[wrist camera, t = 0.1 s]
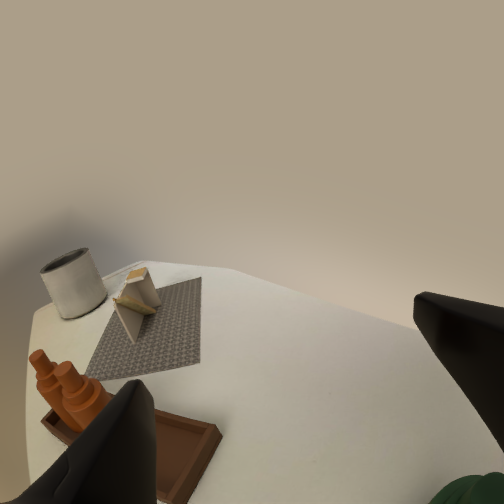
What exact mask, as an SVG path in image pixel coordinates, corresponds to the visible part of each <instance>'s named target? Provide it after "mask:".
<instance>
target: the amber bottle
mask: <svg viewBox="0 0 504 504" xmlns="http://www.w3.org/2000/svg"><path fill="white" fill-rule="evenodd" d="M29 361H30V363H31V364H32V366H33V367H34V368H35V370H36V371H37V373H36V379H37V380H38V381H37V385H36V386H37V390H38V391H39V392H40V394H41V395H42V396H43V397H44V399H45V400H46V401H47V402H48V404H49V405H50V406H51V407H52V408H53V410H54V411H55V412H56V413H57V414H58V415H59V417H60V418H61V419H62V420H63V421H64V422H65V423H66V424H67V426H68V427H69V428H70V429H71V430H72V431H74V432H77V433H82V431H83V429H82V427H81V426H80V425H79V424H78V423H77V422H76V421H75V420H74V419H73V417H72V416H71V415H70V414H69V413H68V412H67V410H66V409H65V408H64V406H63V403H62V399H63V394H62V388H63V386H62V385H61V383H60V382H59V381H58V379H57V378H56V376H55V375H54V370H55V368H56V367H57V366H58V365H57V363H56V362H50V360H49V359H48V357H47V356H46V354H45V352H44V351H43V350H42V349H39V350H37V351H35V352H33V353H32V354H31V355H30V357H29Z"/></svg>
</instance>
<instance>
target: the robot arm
mask: <svg viewBox="0 0 504 504" xmlns="http://www.w3.org/2000/svg"><path fill="white" fill-rule="evenodd" d="M413 319H414V321H415V324H416V325H417V327H418V328H419V330H420V331H421V333H422V334H423V336H424V338H425V339H426V341H427V342H428V344H429V346H430V347H431V349H432V350H433V352H434V353H435V355H436V356H437V358H438V359H439V360H440V362H441V363H442V364H443V366H444V367H445V368H446V369H447V371H448V372H449V373H450V375H451V376H452V377H453V379H454V380H455V381H456V383H457V384H458V386H459V387H460V388H461V390H462V391H463V392H464V394H465V395H466V397H467V398H468V399H469V401H470V402H471V404H472V405H473V406H474V408H475V409H476V411H477V412H478V414H479V415H480V417H481V418H482V420H483V421H484V422H485V424H486V425H487V427H488V429H489V430H490V432H491V433H492V435H493V436H494V438H495V439H496V440H497V443H498V444H499V446H500V448H501V449H502V451H503V452H504V308H503V307H498V306H494V305H489V304H484V303H479V302H474V301H469V300H464V299H459V298H455V297H450V296H445V295H440V294H436V293H431V292H422V293H420V294H418V295H416V296H415V298H414V310H413ZM156 471H157V437H156V425H155V411H154V400H153V397H152V395H151V394H150V392H149V391H148V389H147V388H146V386H145V385H144V383H143V382H142V381H141V380H140V379H136V380H130V381H128V382H127V383H126V384H125V385H124V386H123V387H122V388H121V389H120V390H119V391H118V393H117V394H116V395H115V396H114V397H113V398H112V399H111V400H110V401H109V403H108V404H107V405H106V406H105V407H104V408H103V409H102V410H101V411H100V413H99V414H98V415H97V416H96V417H95V418H94V419H93V420H92V421H91V423H90V424H89V425H88V426H87V427H86V428H85V429H84V430H83V431H82V433H81V434H80V435H79V436H78V437H77V438H76V439H75V440H74V441H73V443H72V444H71V445H70V446H69V447H68V448H67V449H66V451H64V453H63V454H62V455H61V456H60V457H59V458H58V459H57V460H56V461H55V462H54V464H53V465H52V466H51V467H50V468H49V469H48V470H47V471H46V472H45V473H44V474H43V475H42V476H41V477H39V478H38V479H37V480H36V481H35V482H34V483H33V484H32V485H31V486H30V487H29V488H28V489H26V490H25V491H24V492H23V493H22V494H21V495H20V496H19V497H18V498H16V499H14V500H12V501H9V502H5V503H0V504H157V484H156Z"/></svg>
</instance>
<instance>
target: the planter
mask: <svg viewBox="0 0 504 504" xmlns="http://www.w3.org/2000/svg"><path fill="white" fill-rule="evenodd" d="M40 274H41V276H42V279H43V281H44V283H45V285H46V288H47V290H48V292H49V294H50V296H51V298H52V301H53V303H54V305H55V307H56V309H57V311H58V313H59V315H60V316H61V317H62V318H67V319H72V318H77V317H80V316H82V315H85V314H87V313H89V312H90V311H92V310H93V309H95V308H96V307H98V306H99V305H100V304H101V303H102V302H103V300H104V299H105V297H106V294H107V291H106V288H105V286H104V284H103V282H102V280H101V277H100V275H99V273H98V271H97V268H96V267H95V264H94V261H93V259H92V257H91V254H90V252H89V249H88V248H81V249H77V250H74V251H72V252H69V253H67V254H65V255H62V256H61V257H59V258H57V259H55V260H53V261H52V262H50V263H49V264H47V265H46V266H45V267H43V268H42V269H41V271H40Z"/></svg>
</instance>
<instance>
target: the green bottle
mask: <svg viewBox="0 0 504 504" xmlns="http://www.w3.org/2000/svg"><path fill="white" fill-rule="evenodd" d="M428 504H504V474H502V473H499V472H492V473H488V474H486V475H484V476H482V475H470V476H465V477H462V478H459V479H457V480H455V481H453V482H451V483H449V484H448V485H447V486H445V487H444V488H443V489H442V490H440V492H439V493H438V494H437V495H436V496H435V497H434V498H433V499H432V500H431V501H430V502H429V503H428Z"/></svg>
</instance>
